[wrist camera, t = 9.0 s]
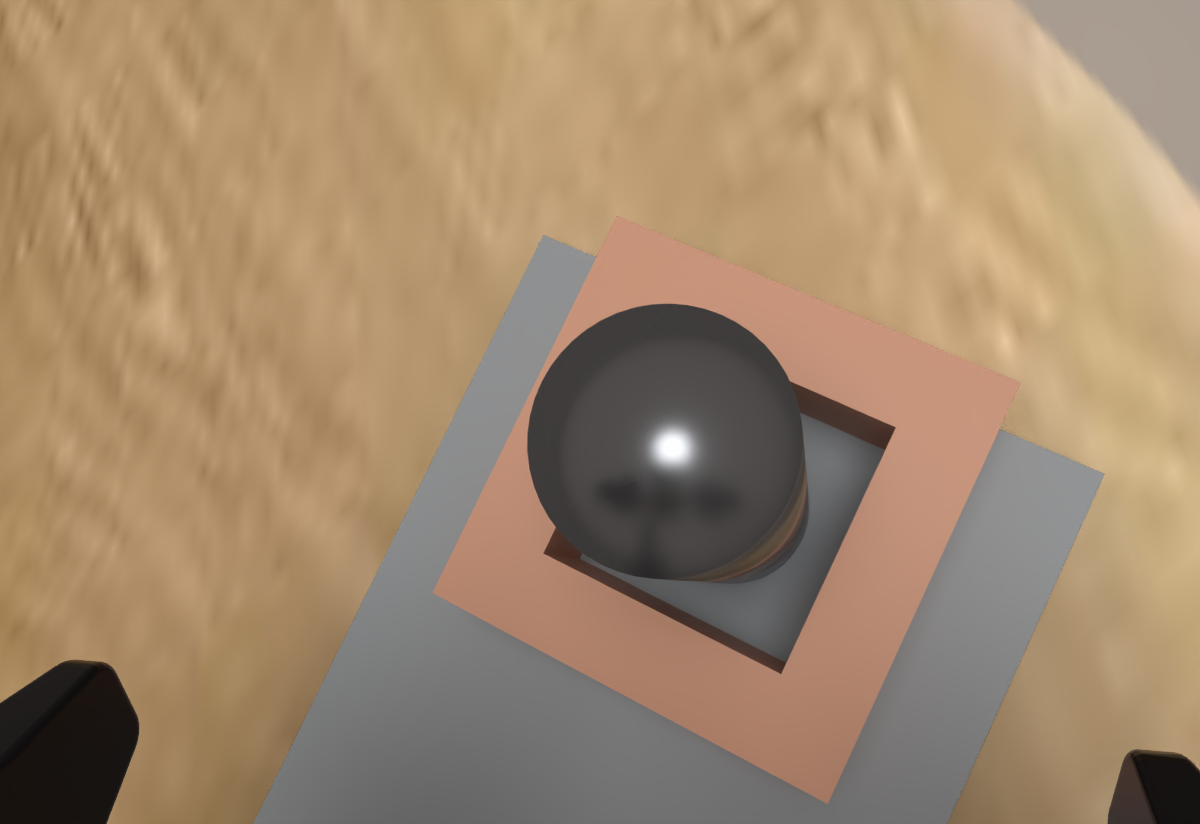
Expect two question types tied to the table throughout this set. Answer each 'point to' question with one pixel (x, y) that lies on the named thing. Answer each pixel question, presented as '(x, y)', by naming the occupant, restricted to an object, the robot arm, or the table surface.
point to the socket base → (697, 596)
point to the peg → (671, 448)
